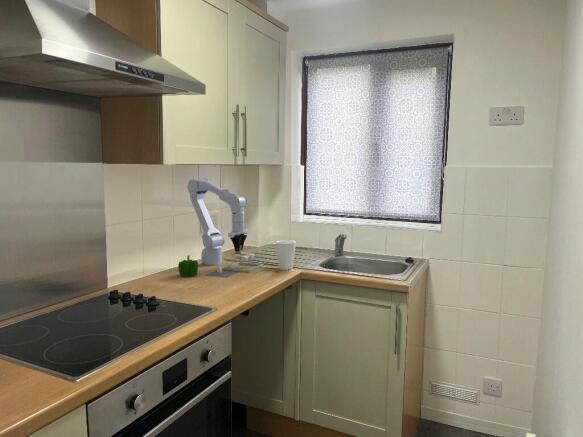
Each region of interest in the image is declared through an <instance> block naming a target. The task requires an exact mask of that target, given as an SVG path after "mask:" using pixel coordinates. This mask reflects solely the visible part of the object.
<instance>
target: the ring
mask: <svg viewBox="0 0 583 437" xmlns="http://www.w3.org/2000/svg"><path fill="white" fill-rule="evenodd" d="M241 249H242V245H240V251H235V250H234V251H235V253H233V254H230V255H231V257H230V258H234V259H237V260H243V261H248V260H251V259H253V258H256V254H255V253H249V252H246V251H242V250H241Z"/></svg>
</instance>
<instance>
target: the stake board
mask: <svg viewBox="0 0 583 437" xmlns="http://www.w3.org/2000/svg"><path fill="white" fill-rule="evenodd" d="M238 273H240V271H232V270H224V269H222V266H217V270H215V271H212V272H210V273H207V274H204V275H205V277H216V278H223V279H227V278H230V277H232V276H234V275H236V274H238Z"/></svg>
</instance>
